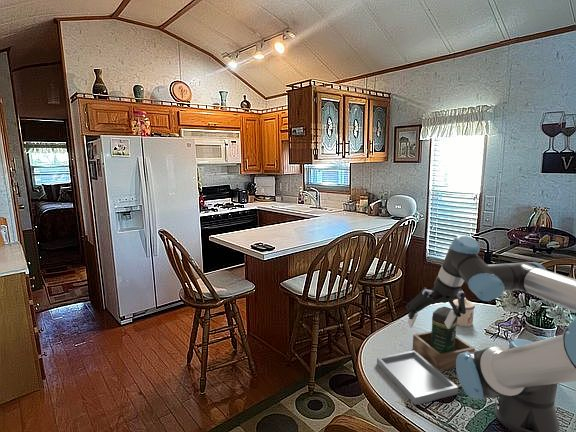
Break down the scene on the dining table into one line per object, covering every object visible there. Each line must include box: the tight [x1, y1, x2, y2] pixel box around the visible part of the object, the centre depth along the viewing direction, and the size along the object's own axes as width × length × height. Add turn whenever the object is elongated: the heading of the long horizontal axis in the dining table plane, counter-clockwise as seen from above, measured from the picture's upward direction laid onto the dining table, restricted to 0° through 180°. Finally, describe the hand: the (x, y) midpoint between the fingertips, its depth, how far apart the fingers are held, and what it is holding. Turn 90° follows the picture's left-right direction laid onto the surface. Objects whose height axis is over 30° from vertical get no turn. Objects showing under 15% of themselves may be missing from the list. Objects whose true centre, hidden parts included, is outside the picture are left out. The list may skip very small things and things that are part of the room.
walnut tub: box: [412, 330, 476, 372], centre depth 132 cm, size 15×15×6 cm
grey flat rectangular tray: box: [376, 349, 459, 406], centre depth 120 cm, size 22×16×2 cm
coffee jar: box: [430, 306, 458, 354], centre depth 131 cm, size 10×8×19 cm
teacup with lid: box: [451, 297, 476, 327], centre depth 158 cm, size 12×9×12 cm
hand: (428, 325), depth 123 cm, fingers open, 13 cm apart
